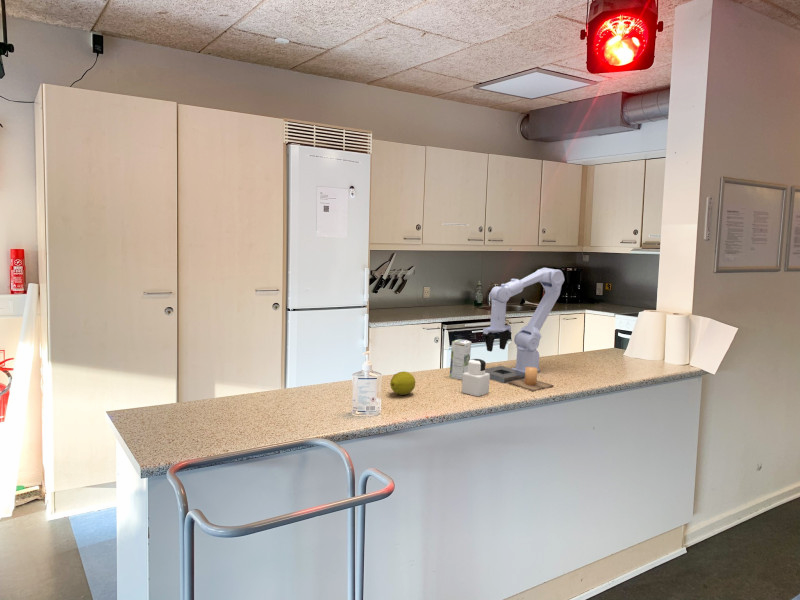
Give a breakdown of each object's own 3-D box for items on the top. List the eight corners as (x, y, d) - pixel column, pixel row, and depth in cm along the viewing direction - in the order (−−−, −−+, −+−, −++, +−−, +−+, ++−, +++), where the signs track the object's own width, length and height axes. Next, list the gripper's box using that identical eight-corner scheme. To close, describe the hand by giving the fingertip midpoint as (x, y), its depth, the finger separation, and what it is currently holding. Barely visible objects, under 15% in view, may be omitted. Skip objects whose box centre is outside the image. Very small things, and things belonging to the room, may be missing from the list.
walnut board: (528, 379, 238) (528, 377, 238) (553, 386, 229) (553, 385, 229) (507, 383, 231) (508, 382, 231) (533, 391, 222) (533, 389, 221)
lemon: (405, 389, 217) (406, 367, 216) (420, 394, 211) (421, 372, 210) (382, 394, 210) (383, 371, 209) (397, 399, 204) (398, 376, 203)
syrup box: (455, 374, 240) (457, 338, 239) (469, 377, 237) (471, 340, 236) (449, 377, 236) (451, 340, 234) (463, 380, 233) (465, 343, 231)
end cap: (529, 381, 233) (530, 366, 232) (538, 384, 230) (540, 368, 229) (522, 383, 230) (523, 367, 229) (531, 385, 227) (532, 370, 226)
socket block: (500, 370, 250) (501, 365, 250) (527, 378, 240) (528, 373, 239) (477, 375, 241) (477, 370, 241) (504, 383, 231) (504, 378, 231)
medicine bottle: (472, 388, 221) (474, 356, 220) (489, 393, 217) (491, 360, 215) (461, 392, 216) (463, 359, 214) (478, 397, 212) (480, 363, 210)
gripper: (493, 319, 236) (491, 353, 237) (517, 316, 245) (515, 350, 247) (480, 316, 241) (477, 350, 243) (504, 314, 250) (502, 346, 252)
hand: (495, 350), depth 245 cm, fingers open, 7 cm apart
